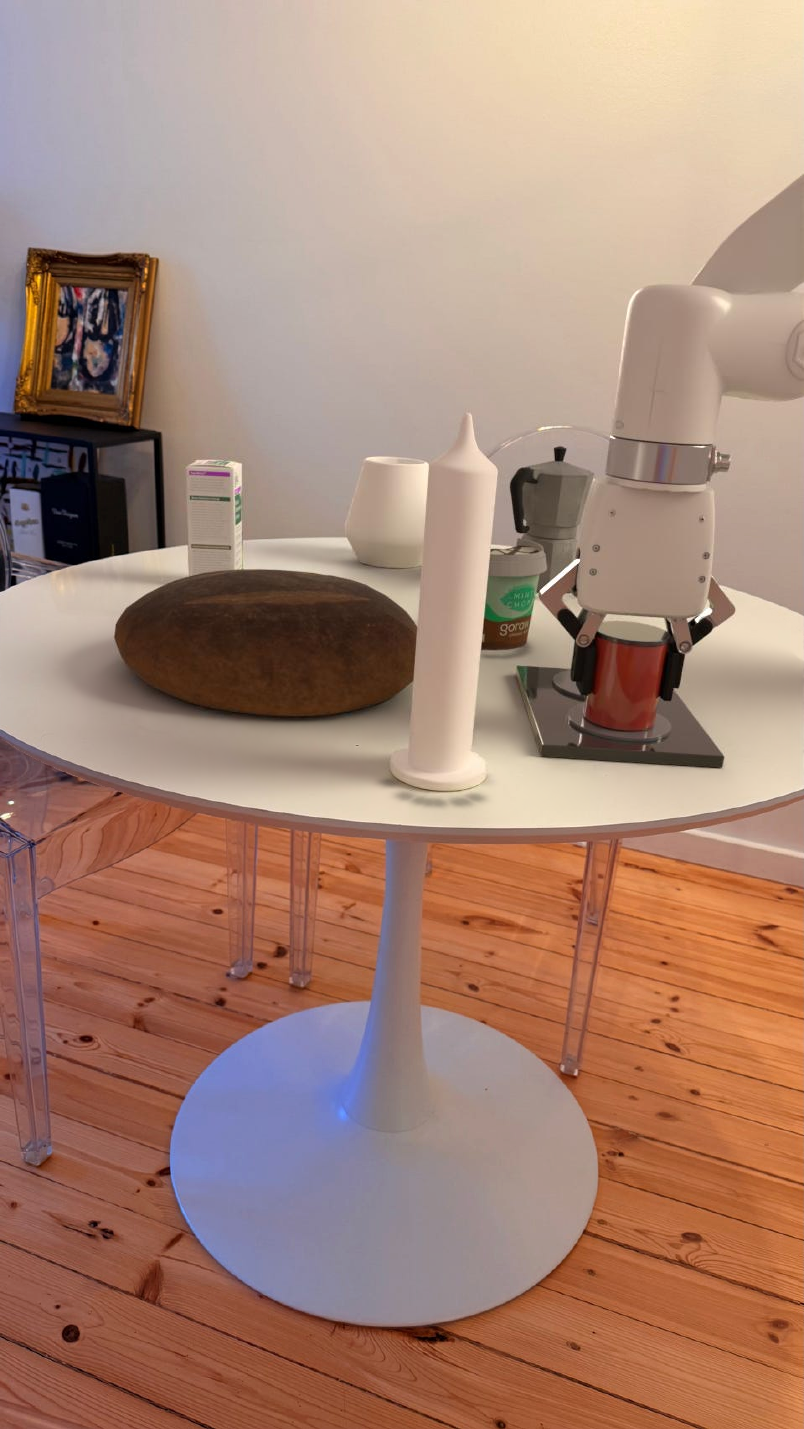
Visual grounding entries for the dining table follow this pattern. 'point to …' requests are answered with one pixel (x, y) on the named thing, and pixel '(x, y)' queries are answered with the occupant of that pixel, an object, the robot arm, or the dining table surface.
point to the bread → (270, 642)
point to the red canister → (626, 675)
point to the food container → (511, 594)
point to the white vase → (389, 512)
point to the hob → (574, 736)
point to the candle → (450, 620)
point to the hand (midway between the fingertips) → (622, 690)
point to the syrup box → (214, 516)
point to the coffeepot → (551, 509)
